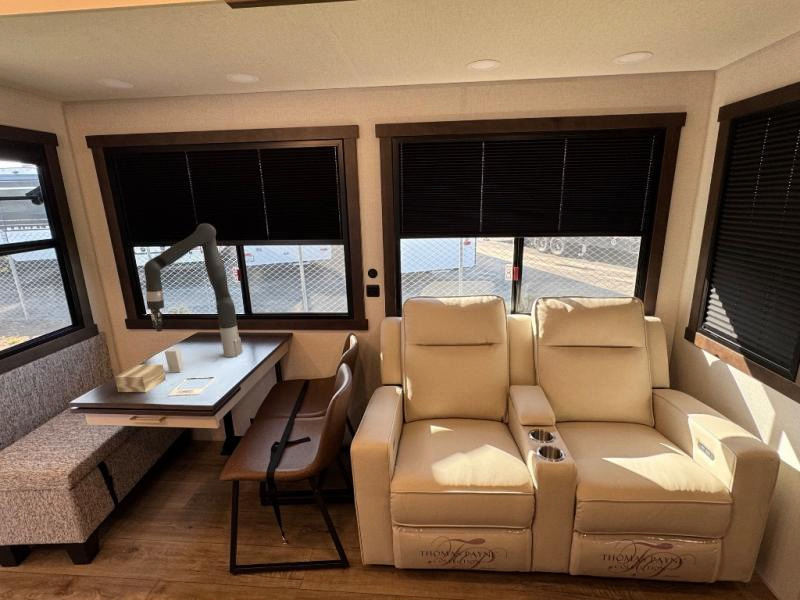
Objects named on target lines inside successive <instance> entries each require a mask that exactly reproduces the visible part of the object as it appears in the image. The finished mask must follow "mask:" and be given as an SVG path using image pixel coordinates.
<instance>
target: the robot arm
mask: <svg viewBox="0 0 800 600" xmlns="http://www.w3.org/2000/svg"><path fill="white" fill-rule="evenodd" d="M216 235H217V230H216V228H215V227H214V226H213V225H211V224H210V223H205V222H204V223H200V224H199V225H198V226H197V228H196V229H195V231H193V233H191V234H190V235H189V236H187V237H185V239H183V240H181V241H178V242H177V243H176V244H173V245H171V246H170V247H168V248H167V249H166V250H163V251H162V252H161V253H159V254H158V255H156V256H155V257H153V258H151V259H150V260H148V261H147V262H145V264H144V267H143V270H144V277H145V289H146V290H145V291H146V294H145V297H146V299H145V300H146V308H147V309H148V310H150V316H151V321H152V327H153V328H154V329H156V332H162V331H163V329H162V327H163V326H162V324H163V323H164V322H163V313H162V311H161V310H162V309H164V308H165V302H164V293H163V283H162V278H161V277H162V276H161V275H162V274H161V272H162V270H164V268H166V267H167V266H169V265H173V264H174V263H176V261H179V260H180V259H181V258H183V257H184V256H186V255H187V254H188V253H190V252H191V251H193V250H194V249H196V248H198V247H199V246H201V248H202V252H203V259H204V265H205V269H206V273H207V278H208V280H209V283H210V285H211V287H212V289H213V292H214V297H215V303H216V304H215V305H216V314H217V315H216V316H217V320H218V325H219V333H220V338H221V339H220V340H221V345H222V352H223V356H224V357H225V358H233V357H239V356H240V355H241V354H242V353H243V346H242V340H241V339H242V338H241V336H239V329H238V322H237V321H238V320H237V315H236V307H235V303H234V301H233V299H232V296H231V293H230V290H229V286H228V277H227V270H226V268H225V264H224V261H223V259H222V256H221V254H220V252H219V249H218V246H217V240H216ZM238 355H239V356H238Z"/></svg>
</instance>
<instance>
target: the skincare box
mask: <svg viewBox="0 0 800 600" xmlns="http://www.w3.org/2000/svg"><path fill="white" fill-rule="evenodd" d="M164 356H165V359H166V363H167V368H168V372H169V373H181V372H183V371H184V370H185V366H184V361H183V357H182V352H181V348H168V349H167V350H165V351H164Z"/></svg>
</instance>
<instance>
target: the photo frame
mask: <svg viewBox="0 0 800 600" xmlns="http://www.w3.org/2000/svg"><path fill="white" fill-rule="evenodd" d="M209 377H210V376H203V377H201V376H200V377H197V379H210V378H209ZM213 377H214V378H215V377H216V376H213ZM191 378H192V377H186V378H185V379H184V380H183V381H181V382H180V384H178V385H177V386H176V387H175V388H174V389H173V390H172V391H170V393H168V394H167V397H171V396H170V395H183V396H192V395H191V394H200V393H201V392H202V391H203V390H204V389H205V388H206V387H207V386H208V385H211V384H212V382H214V380H215V379H216V378H215V379H214V378H212V379H211V380H210V381H209V382H208V383H207V384H206V385H205V386H204V387H203V388H185V389H184V388H183V389H179V388H180V387H181V386H182V385H183V384H184V383H185V382H187V380H191ZM180 385H181V386H180ZM179 386H180V387H179ZM178 387H179V388H178ZM208 387H209V386H208ZM208 387H207V388H208ZM177 388H178V389H177ZM207 388H206V389H207ZM206 389H205V390H206ZM205 390H204V391H205ZM204 391H203V392H204ZM203 392H202V393H203ZM202 393H201V394H202ZM201 394H200V395H201Z"/></svg>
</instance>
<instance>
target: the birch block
mask: <svg viewBox="0 0 800 600" xmlns="http://www.w3.org/2000/svg"><path fill="white" fill-rule="evenodd" d="M164 369H165V368H164V364H135V365H134V366H132V367H130V368H128V369H126V370H125V371H123V372H121V373H119V374H118V375H116V376H114V380H115V384H116V388H117V392H146V393H148V392H149V391H151V390H152V389H154V388H156V387H157V386H158V385H160V384H161V383H163V382H164V381H166V380H167V379H166V374H165V370H164ZM156 385H157V386H156ZM153 387H154V388H153ZM150 389H151V390H150ZM147 391H148V392H147Z"/></svg>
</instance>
